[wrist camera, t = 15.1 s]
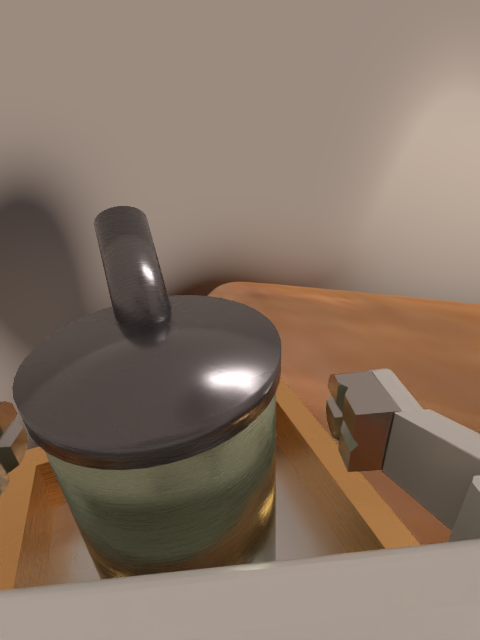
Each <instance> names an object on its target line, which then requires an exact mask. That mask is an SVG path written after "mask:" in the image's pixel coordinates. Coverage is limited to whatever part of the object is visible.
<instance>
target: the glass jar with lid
mask: <svg viewBox="0 0 480 640" xmlns="http://www.w3.org/2000/svg"><path fill="white" fill-rule="evenodd" d="M94 226H95V231H96V235H97V240H98V244H99V249H100V253H101V258H102V262H103V267H104V271H105V275H106V280H107V284H108V289H109V294H110V298H111V302H112V307H109V308H106V309H103V310H100V311H97V312H95V313H92V314H90V315H87V316H85V317H83V318H81V319H78V320H76V321H74V322H72V323H70V324H68V325H66V326H64V327H63V328H61V329H60V330H58V331H57V332H55V333H53V334H52V335H50V336H49V337H48V338H46V339H45V340H43V341H42V342H41V343H40V344H39V345H38V346H37V347H35V348H34V349H33V350H32V351H31V352H30V354H29V355H28V356H27V357H26V358H25V359H24V361H23V362H22V364H21V365H20V367H19V368H18V371H17V373H16V376H15V378H14V383H13V398H14V400H15V403H16V405H17V408H18V410H19V412H20V414H21V416H22V419H23V421H24V423H25V425H26V428H27V430H28V432H29V434H30V436H31V437H32V438H33V440H34V441H35V442H36V444H37V445H38V446H39V447H41V448H42V449H43V450H44V451H45V453H46V456H47V458H48V460H49V462H50V465H51V467H52V469H53V472H54V474H55V476H56V478H57V481H58V483H59V485H60V488H61V490H62V492H63V494H64V497H65V499H66V501H67V504H68V506H69V508H70V510H71V513H72V515H73V517H74V520H75V522H76V524H77V526H78V529H79V531H80V533H81V536H82V538H83V540H84V542H85V545H86V547H87V549H88V552H89V554H90V556H91V558H92V561H93V563H94V565H95V568H96V570H97V572H98V574H99V577H100V579H101V580H102V579H111V578H121V577H130V576H139V575H149V574H158V573H167V572H176V571H186V570H195V569H204V568H213V567H223V566H232V565H241V564H250V563H259V562H269V561H276V391H277V388H278V385H279V382H280V375H281V340H280V337H279V334H278V331H277V329H276V328H275V326H274V325H273V323H272V322H271V321H270V320H269V319H268V318H267V317H265V316H264V315H263V314H261V313H260V312H258V311H257V310H255V309H253V308H251V307H249V306H246V305H244V304H241V303H238V302H235V301H231V300H227V299H223V298H216V297H209V296H194V295H192V296H191V295H182V296H179V295H178V296H168V294H167V290H166V287H165V283H164V279H163V276H162V272H161V269H160V265H159V262H158V258H157V254H156V251H155V247H154V243H153V240H152V236H151V232H150V229H149V225H148V221H147V218H146V215H145V214H144V213H143V212H142V211H141V210H139V209H137V208H134V207H129V206H118V207H113V208H109V209H107V210H104V211H103V212H101V213H100V214H99V215H98V216H97V217H96V218H95V221H94Z"/></svg>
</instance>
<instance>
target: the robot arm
mask: <svg viewBox="0 0 480 640" xmlns="http://www.w3.org/2000/svg"><path fill="white" fill-rule="evenodd" d="M328 388H329V390H330V392H331V396H330V397H329V399H328V400H327V406H326V413H327V421H328V425H329V429H330V431H331V434H332V436H333V437H334V438H336V439H337V440H338V441H339V448H338V451H339V453H340V455H341V458H342V460H343V462H344V465H345V467H346V469H347V472H358V471H373V470H383V471H382V472H383V473H385V474H386V475H387V476H388V477H389V478H390V479H392V480H393V481H394V482H395V483H396V484H397V485H399V486H400V487H401V488H402V489H403V490H405V491H406V492H407V493H408V494H409V495H410V496H412V497H413V498H414V499H415V500H416V501H417V502H419V503H420V504H421V505H422V506H423V507H424V508H426V509H427V510H428V511H429V512H430V513H431V514H433V515H434V516H435V517H436V518H437V519H438V520H440V521H441V522H442V523H443V524H444V525H446V526H447V527H448V528H449V529H450V530H451V531H452V533H451V535H450V538H449V541H448V542H445V543H436V544H427V545H417V546H408V547H399V548H389V549H380V550H371V551H361V552H352V553H343V554H333V555H324V556H315V557H306V558H296V559H287V560H278V561H269V562H259V563H250V564H241V565H232V566H223V567H213V568H204V569H195V570H186V571H176V572H167V573H158V574H149V575H139V576H130V577H121V578H111V579H102V580H93V581H83V582H74V583H64V584H55V585H46V586H36V587H27V588H18V589H8V590H0V640H480V434H479V433H477V432H475V431H473V430H471V429H468V428H466V427H464V426H462V425H460V424H458V423H456V422H454V421H452V420H450V419H448V418H446V417H444V416H442V415H440V414H438V413H436V412H434V411H432V410H430V409H426V410H423V408H422V407H421V406H420V405H419V404H418V402H417V401H416V400H415V399H414V398H413V396H412V395H411V394H410V393H409V391H408V390H407V389H406V388H405V387H404V385H403V384H402V383H401V382H400V380H399V379H398V378H397V377H396V376H395V374H394V373H393V372H392V371H391V370H389V369H387V368H386V369H377V370H368V371H364V372H353V373H341V374H331V375H330V377H329V382H328ZM16 415H17V412H16V410H15V408H14V406H13V404H12V403H9V402H6V401H3V402H0V496H1V494H2V493H3V491H4V490H5V488H6V486H7V485H8V483H9V481H10V480H9V475H8V473H10V472H11V471H12V470H13V469H15V468H16V467H17V466H19V465H20V463H21V461H22V460H23V458H24V456H25V453H26V449H27V444H28V442H27V434H26V432H25V429H24V427H23V426H21V425H20V424H18V423H17V422H15V421H14V420H15V418H16Z"/></svg>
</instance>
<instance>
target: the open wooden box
mask: <svg viewBox="0 0 480 640" xmlns="http://www.w3.org/2000/svg"><path fill="white" fill-rule="evenodd" d="M338 448H339V446H338V445H337V444H336V443H335V442H334V440H333V439H332V438H331V437H330V436H329V434H328V433H327V432H326V431H325V430H324V428H323V427H322V426H321V425H320V424H319V422H318V421H317V420H316V419H315V418H314V416H313V415H312V414H311V413H310V412H309V410H308V409H307V408H306V407H305V406H304V404H303V403H302V402H301V401H300V400H299V398H298V397H297V396H296V395H295V394H294V392H293V391H292V390H291V389H290V388H289V386H288V385H287V384H286V383H285V382H284V381H283V379H282V378H280V382H279V385H278V388H277V391H276V561H278V560H287V559H296V558H306V557H315V556H324V555H333V554H343V553H352V552H361V551H371V550H380V549H389V548H399V547H408V546H417V545H420V543H419V542H418V541H417V540H416V539H415V537H414V536H413V535H412V534H411V533H410V531H409V530H408V529H407V528H406V527H405V525H404V524H403V523H402V522H401V521H400V519H399V518H398V517H397V516H396V515H395V513H394V512H393V511H392V510H391V509H390V507H389V506H388V505H387V504H386V503H385V501H384V500H383V499H382V498H381V497H380V495H379V494H378V493H377V492H376V491H375V489H374V488H373V487H372V486H371V485H370V483H369V482H368V481H367V480H366V479H365V477H364V476H363V475H362V474H361V473H360V472H359V471H358V472H347V469H346V467H345V465H344V462H343V460H342V458H341V455H340V453H339V451H338ZM8 475H9V480H10V481H9V483H8V485H7V486H6V488H5V490H4V491H3V493H2V494H1V496H0V590H8V589H18V588H27V587H36V586H46V585H55V584H64V583H74V582H83V581H93V580H101V579H100V577H99V574H98V572H97V570H96V568H95V565H94V563H93V561H92V558H91V556H90V554H89V552H88V549H87V547H86V545H85V542H84V540H83V538H82V536H81V533H80V531H79V529H78V526H77V524H76V522H75V520H74V517H73V515H72V513H71V510H70V508H69V506H68V504H67V501H66V499H65V497H64V494H63V492H62V490H61V488H60V485H59V483H58V481H57V478H56V476H55V474H54V472H53V469H52V467H51V465H50V462H49V460H48V458H47V456H46V453H45V451H44V450H43V449H42V448H41V447H36V448H33V449H29V450H26V453H25V456H24V458H23V460H22V461H21V463H20V465H19V466H17V467H16V468H15V469H13V470H12V471H11V472H10V473H8Z"/></svg>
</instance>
